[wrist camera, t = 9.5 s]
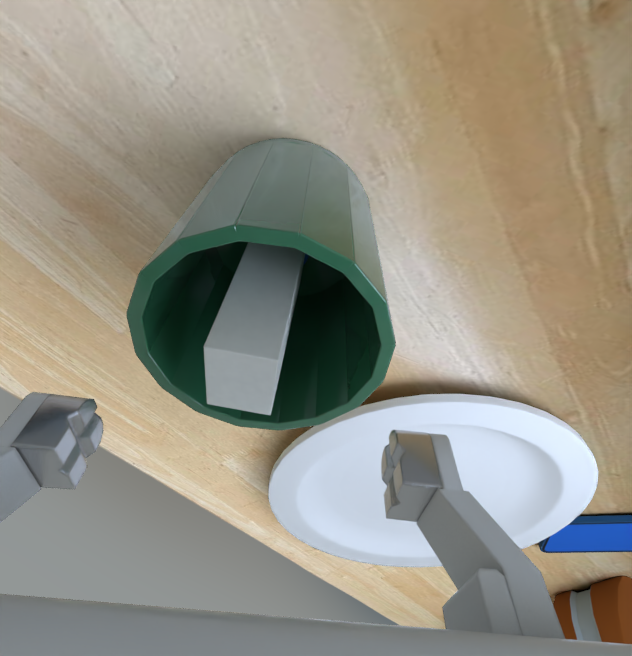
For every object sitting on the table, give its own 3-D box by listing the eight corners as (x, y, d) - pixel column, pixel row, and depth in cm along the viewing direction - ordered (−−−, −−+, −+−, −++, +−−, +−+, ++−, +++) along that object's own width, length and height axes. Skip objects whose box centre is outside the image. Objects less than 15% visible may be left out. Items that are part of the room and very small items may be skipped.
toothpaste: (262, 199, 19) (196, 345, 12) (317, 211, 19) (284, 361, 12) (258, 253, 22) (201, 403, 14) (308, 263, 22) (275, 417, 15)
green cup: (199, 125, 18) (100, 207, 11) (388, 151, 19) (427, 249, 11) (209, 286, 24) (149, 418, 16) (354, 303, 24) (364, 439, 17)
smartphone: (552, 523, 39) (721, 519, 37) (548, 514, 40) (714, 510, 38) (538, 553, 44) (688, 551, 42) (535, 545, 44) (683, 543, 42)
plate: (569, 326, 25) (588, 351, 23) (592, 520, 40) (605, 544, 38) (210, 433, 33) (203, 458, 32) (343, 559, 49) (343, 580, 47)
